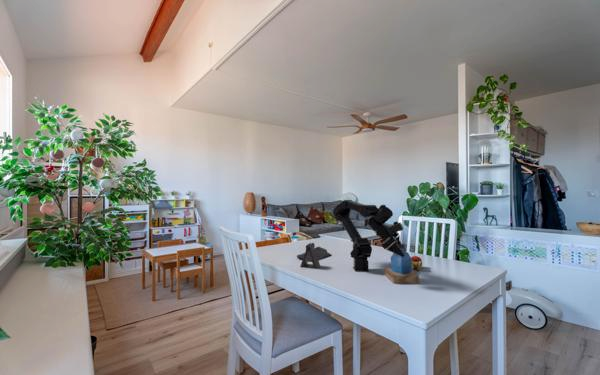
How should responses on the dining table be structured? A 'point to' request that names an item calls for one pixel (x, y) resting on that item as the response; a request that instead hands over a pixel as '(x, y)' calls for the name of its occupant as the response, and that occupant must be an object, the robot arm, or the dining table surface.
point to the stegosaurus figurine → (320, 253)
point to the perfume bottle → (401, 261)
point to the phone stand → (311, 251)
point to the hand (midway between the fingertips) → (404, 253)
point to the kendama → (416, 263)
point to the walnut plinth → (401, 276)
